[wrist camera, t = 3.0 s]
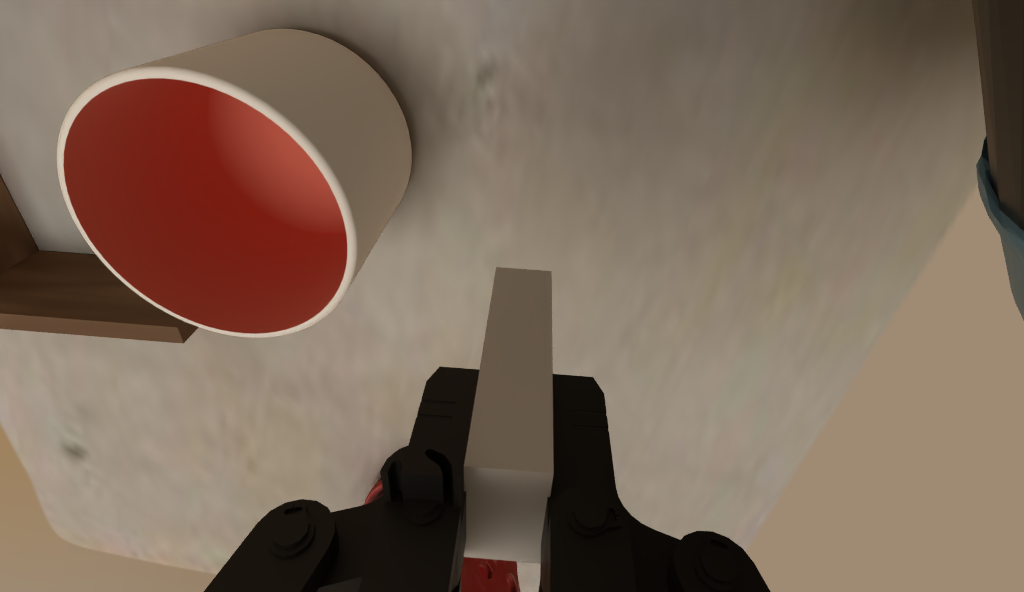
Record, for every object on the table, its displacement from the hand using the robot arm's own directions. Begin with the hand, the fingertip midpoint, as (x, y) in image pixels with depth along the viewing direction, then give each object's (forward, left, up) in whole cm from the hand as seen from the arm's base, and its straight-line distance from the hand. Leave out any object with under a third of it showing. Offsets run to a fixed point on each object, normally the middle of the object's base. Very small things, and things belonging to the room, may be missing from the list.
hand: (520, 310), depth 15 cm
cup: (0, -11, -14) cm, 17 cm away
